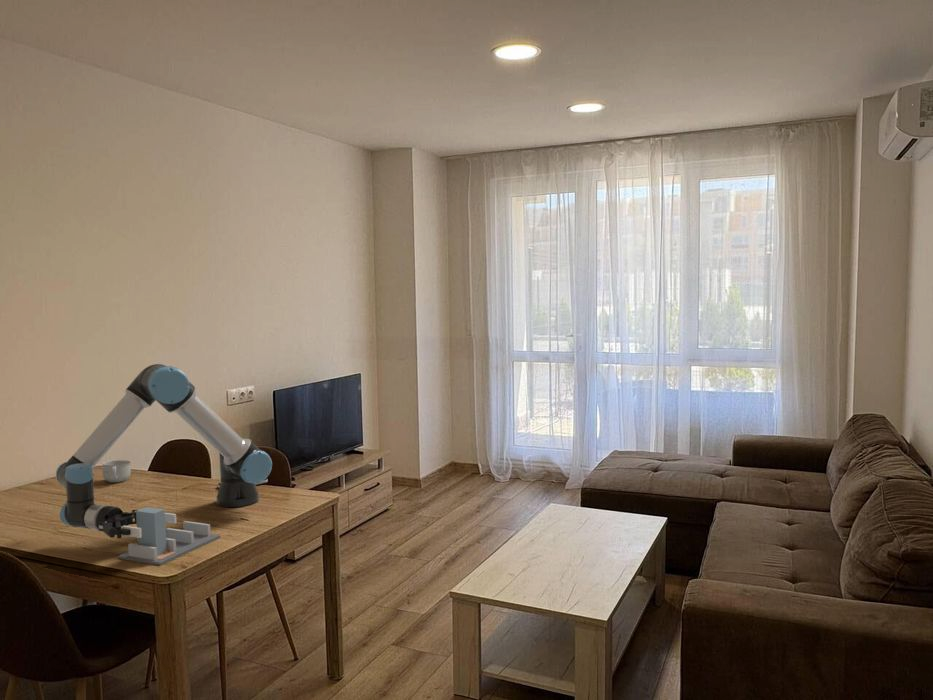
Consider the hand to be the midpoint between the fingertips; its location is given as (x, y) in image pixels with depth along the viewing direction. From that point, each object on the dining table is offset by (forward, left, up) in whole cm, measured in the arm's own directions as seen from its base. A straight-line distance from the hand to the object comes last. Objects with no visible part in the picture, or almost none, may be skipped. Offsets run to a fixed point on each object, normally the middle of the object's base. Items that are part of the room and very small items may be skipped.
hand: (158, 525), depth 216 cm
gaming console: (-74, -29, -10) cm, 80 cm away
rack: (-7, -3, -9) cm, 12 cm away
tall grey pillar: (0, -3, -9) cm, 9 cm away
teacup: (-60, -83, -10) cm, 103 cm away
